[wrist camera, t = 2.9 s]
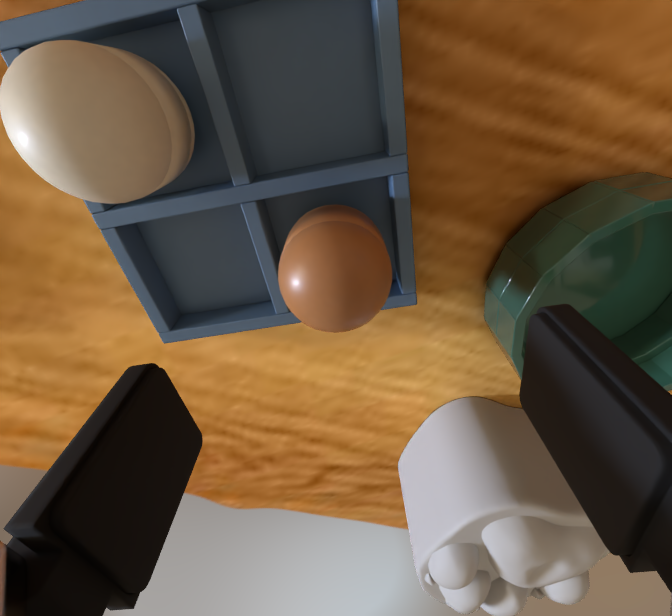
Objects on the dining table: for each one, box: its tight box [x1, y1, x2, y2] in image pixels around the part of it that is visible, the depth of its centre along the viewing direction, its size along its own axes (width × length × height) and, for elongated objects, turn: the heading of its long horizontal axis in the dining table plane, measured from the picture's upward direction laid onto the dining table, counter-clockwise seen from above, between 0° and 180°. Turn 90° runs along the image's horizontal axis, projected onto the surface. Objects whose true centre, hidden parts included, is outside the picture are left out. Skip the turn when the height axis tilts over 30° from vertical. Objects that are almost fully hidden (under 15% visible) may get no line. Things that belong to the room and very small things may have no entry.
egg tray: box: [0, 0, 417, 343], centre depth 15 cm, size 13×13×2 cm
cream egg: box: [0, 40, 195, 204], centre depth 11 cm, size 4×4×6 cm
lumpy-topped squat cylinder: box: [398, 397, 610, 616], centre depth 23 cm, size 10×13×9 cm
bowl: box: [484, 172, 672, 391], centre depth 17 cm, size 11×11×4 cm
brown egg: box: [278, 204, 392, 333], centre depth 14 cm, size 4×4×6 cm
